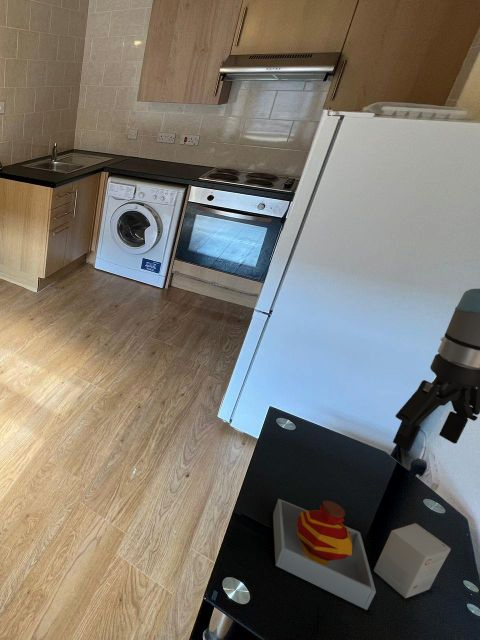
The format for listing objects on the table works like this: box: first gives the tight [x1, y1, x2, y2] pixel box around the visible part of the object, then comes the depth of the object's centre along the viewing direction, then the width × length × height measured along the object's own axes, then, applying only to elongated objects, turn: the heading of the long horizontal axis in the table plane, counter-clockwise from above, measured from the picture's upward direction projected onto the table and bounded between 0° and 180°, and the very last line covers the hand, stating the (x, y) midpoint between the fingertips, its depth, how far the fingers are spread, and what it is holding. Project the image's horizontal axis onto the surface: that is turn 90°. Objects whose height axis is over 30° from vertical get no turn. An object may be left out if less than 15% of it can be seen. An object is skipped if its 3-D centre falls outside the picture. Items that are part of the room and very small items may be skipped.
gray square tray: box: [272, 498, 377, 611], centre depth 97 cm, size 16×16×6 cm
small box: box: [373, 522, 451, 599], centre depth 92 cm, size 8×6×13 cm
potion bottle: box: [296, 500, 352, 565], centre depth 96 cm, size 10×10×15 cm
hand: (424, 442), depth 91 cm, fingers open, 13 cm apart
